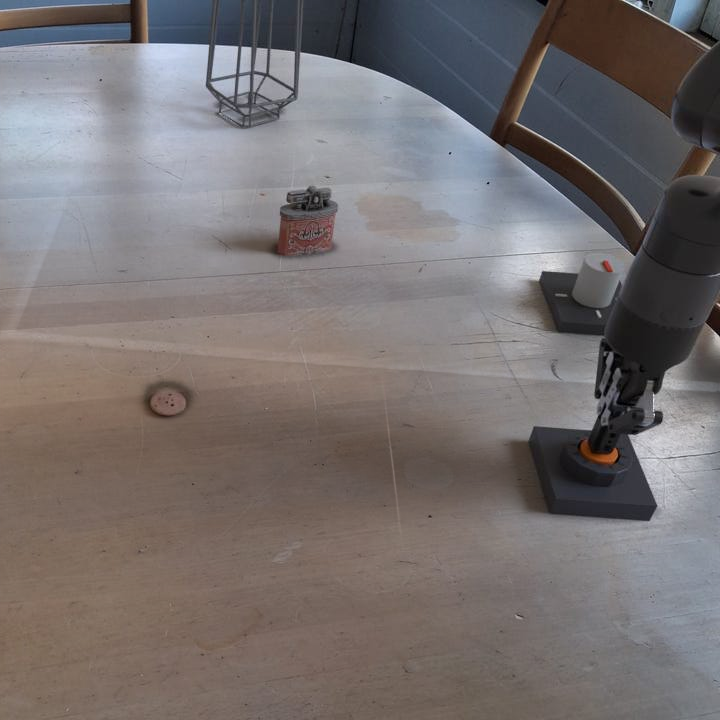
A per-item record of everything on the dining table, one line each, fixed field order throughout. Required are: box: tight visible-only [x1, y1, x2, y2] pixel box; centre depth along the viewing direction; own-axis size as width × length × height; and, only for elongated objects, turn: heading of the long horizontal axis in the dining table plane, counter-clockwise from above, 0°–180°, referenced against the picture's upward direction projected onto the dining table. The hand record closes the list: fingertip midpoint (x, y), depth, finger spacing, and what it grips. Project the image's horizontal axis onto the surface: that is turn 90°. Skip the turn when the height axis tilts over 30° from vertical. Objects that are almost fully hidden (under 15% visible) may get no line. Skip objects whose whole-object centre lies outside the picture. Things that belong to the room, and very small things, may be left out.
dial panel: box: [538, 270, 623, 337], centre depth 115 cm, size 10×12×3 cm
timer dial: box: [572, 252, 625, 308], centre depth 112 cm, size 5×5×5 cm
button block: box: [528, 425, 658, 522], centre depth 92 cm, size 10×11×4 cm
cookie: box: [149, 390, 187, 417], centre depth 98 cm, size 4×4×1 cm
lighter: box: [277, 185, 339, 257], centre depth 119 cm, size 8×3×10 cm, turn 111°
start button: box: [579, 439, 618, 466], centre depth 91 cm, size 4×4×2 cm
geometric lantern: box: [205, 0, 304, 128], centre depth 145 cm, size 16×16×35 cm
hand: (598, 449), depth 90 cm, fingers closed
